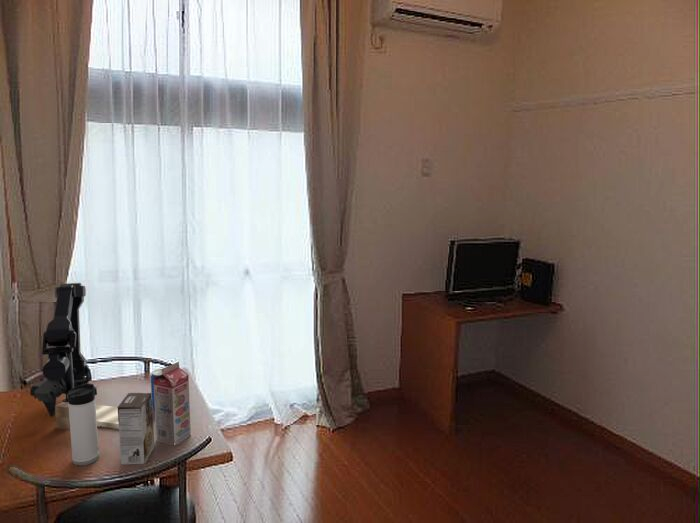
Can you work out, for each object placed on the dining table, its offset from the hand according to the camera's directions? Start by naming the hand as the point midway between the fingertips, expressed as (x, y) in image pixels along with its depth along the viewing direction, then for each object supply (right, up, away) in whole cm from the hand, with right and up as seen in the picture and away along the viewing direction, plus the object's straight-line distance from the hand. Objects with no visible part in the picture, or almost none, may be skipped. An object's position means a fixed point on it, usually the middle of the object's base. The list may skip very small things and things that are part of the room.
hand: (65, 417), depth 156 cm
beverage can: (+24, -1, +15) cm, 28 cm away
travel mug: (+15, -6, -18) cm, 24 cm away
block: (+1, -2, +5) cm, 5 cm away
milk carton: (+34, -4, -6) cm, 35 cm away
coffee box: (+28, -6, -16) cm, 33 cm away
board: (+9, -2, +6) cm, 11 cm away
